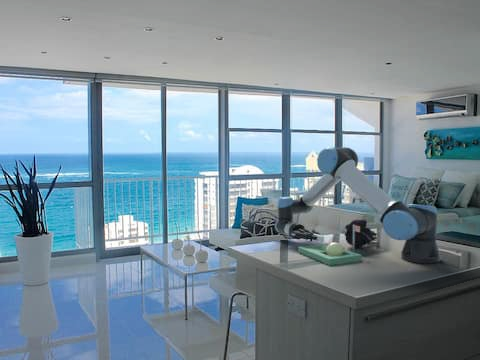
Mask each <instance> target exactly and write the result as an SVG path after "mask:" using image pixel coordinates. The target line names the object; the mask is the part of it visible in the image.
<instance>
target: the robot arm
mask: <svg viewBox="0 0 480 360" xmlns="http://www.w3.org/2000/svg"><path fill="white" fill-rule="evenodd" d="M316 162H317V163H316V165H317V168H318V170H319V171H320V172H321V173H322V174H323V175H322V176H321V177H320V178H319V179H318V180H317V181H315V183H313V185H312V186H311V187H310V188H309V189H307V190H306V191H305V192H304V194H302V196H301V197H300V198H298V199H294V198H293V197H292V196H280V197H279V198H278V202H277V203H278V204H277V211H278V215H277V217H278V218H277V220H276V222H275V223H274V229H275V230H276V232H277V233H279V234H281V235H283V236H287V237H289V238H291V239H295V240H306V241H308V240H309V241H310V242H313V241H315V242H318V243H321V244H325V236H324V235H321V233H320V232H318V231H316V230H315V229H311V230H310V229H307V228H305V225H303V224H301V223H298V222H294V215H299V214H306V213H307V214H308V213H309V212H312V211H313V209H314V205H315V204H316V203H317V202H319V201H320V200H321V199H322V198H323V197H324V196H325V195H326V194H327V193H328V192H329V191H330V190H332V188H334V187H335V186H336V185H337V184H338V183H339V182H342V183H344V184H345V185H346V186H347V187H348V188H349V189H350V190H351V191H352V192H353V193H354V194H356V196H358V197H359V198H360V199H361V200H362V201H363V202H364V203H365V204H366V205H367V206H369V207H370V209H372V210H373V211H374V212H375V213H376V214H377V215H378V216H379V222H380V223H381V224H382V226H383V230H384V232H385V234H386V235H387V236H388V237H390V238H391V239H394V240H397V241H404V244H403V247H402V249H401V253H400V255H401V256H400V257H401V259H402V260H405V261H407V262H412V263H416V264H417V263H418V264H437V263H440V262H441V258H442V257H441V253H440V249H439V247H438V243H437V228H438V227H437V223H438V222H437V221H438V213H437V211H438V210H437V207H436V206H434V205H426V204H425V205H424V204H414V203H407V204H405V203H404V202H403V201H402V200H395V199H393V198H392V197H391V196H390V195H389V194H387V192H385V190H383V189H382V188H381V187H380V186H378V184H376V183H375V182H374V181H373V180H371V178H369V177H368V176H367V175H366V174H365V173H364V172H362V171H361V170H360V169H359V168H358V164H359V157H358V154H357V153H356V151H355V150H354V149H353V148H350V147H346V146H345V147H344V146H343V147H335V146H333V147H332V146H330V147H325V148H323V149H321V150H320V152H319V153H318V155H317V159H316Z"/></svg>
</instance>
